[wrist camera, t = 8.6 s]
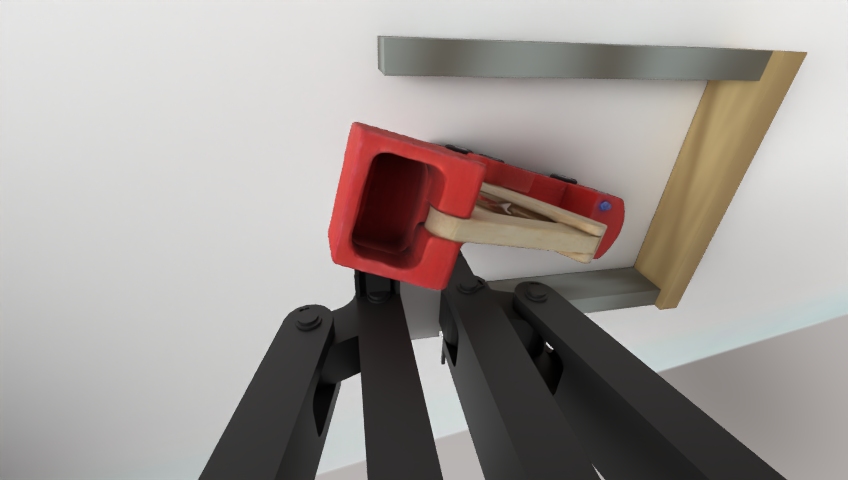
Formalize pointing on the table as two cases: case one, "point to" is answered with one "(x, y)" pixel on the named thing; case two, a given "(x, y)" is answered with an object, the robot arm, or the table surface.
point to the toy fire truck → (454, 208)
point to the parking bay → (697, 161)
